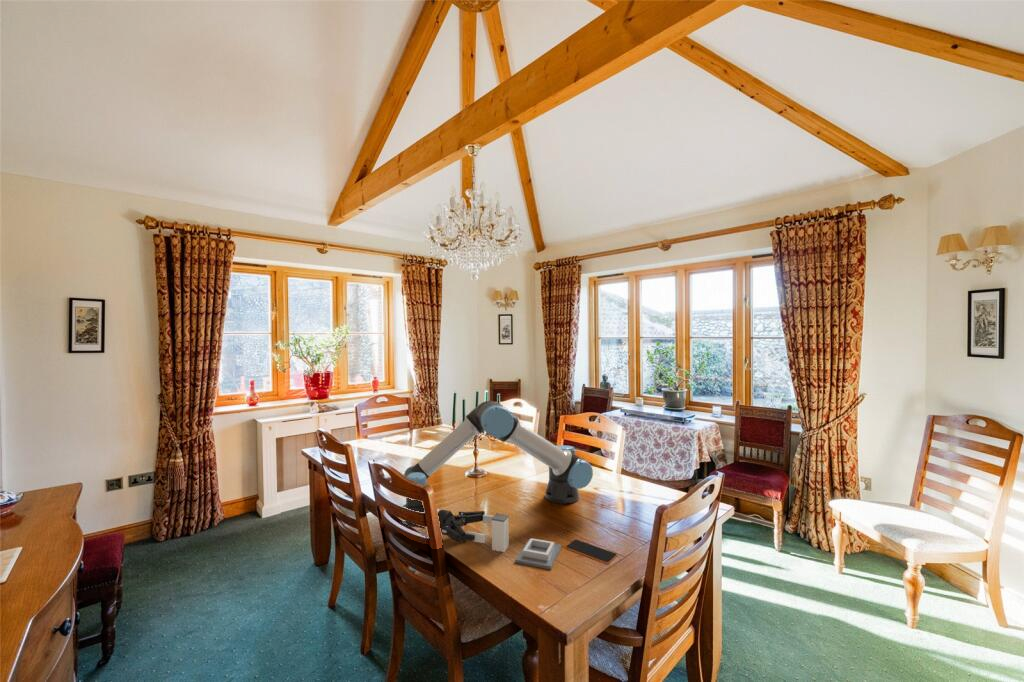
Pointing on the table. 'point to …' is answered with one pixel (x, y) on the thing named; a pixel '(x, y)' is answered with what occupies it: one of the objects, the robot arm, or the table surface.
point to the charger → (500, 532)
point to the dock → (538, 553)
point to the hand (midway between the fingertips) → (492, 529)
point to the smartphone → (591, 551)
